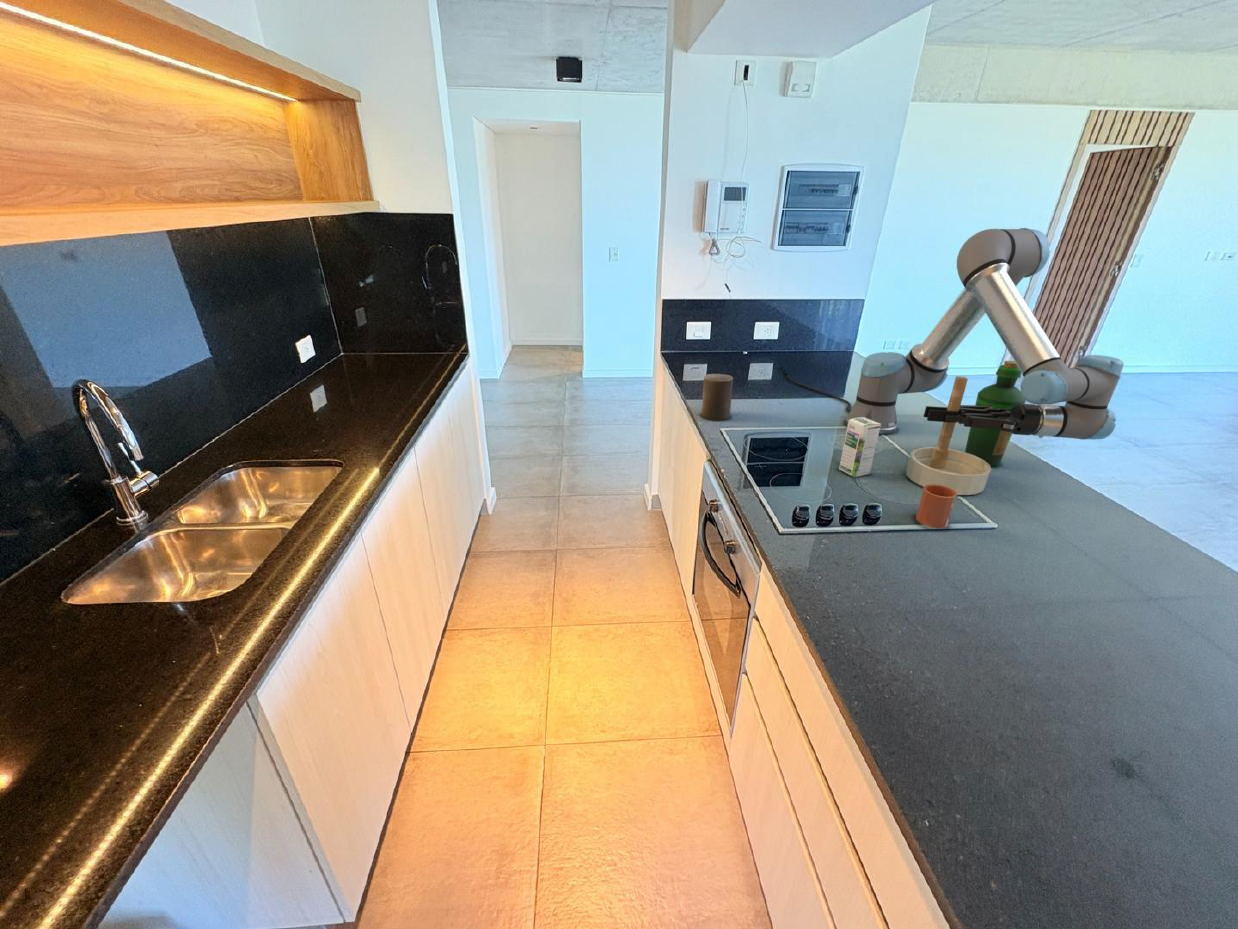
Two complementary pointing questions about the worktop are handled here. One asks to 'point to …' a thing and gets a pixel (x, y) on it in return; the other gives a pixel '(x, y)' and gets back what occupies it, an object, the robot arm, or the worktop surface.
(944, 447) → the stirring stick
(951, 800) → the worktop surface
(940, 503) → the utensil pot
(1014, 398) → the bottle
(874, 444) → the syrup box
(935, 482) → the bowl
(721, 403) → the pillar candle
